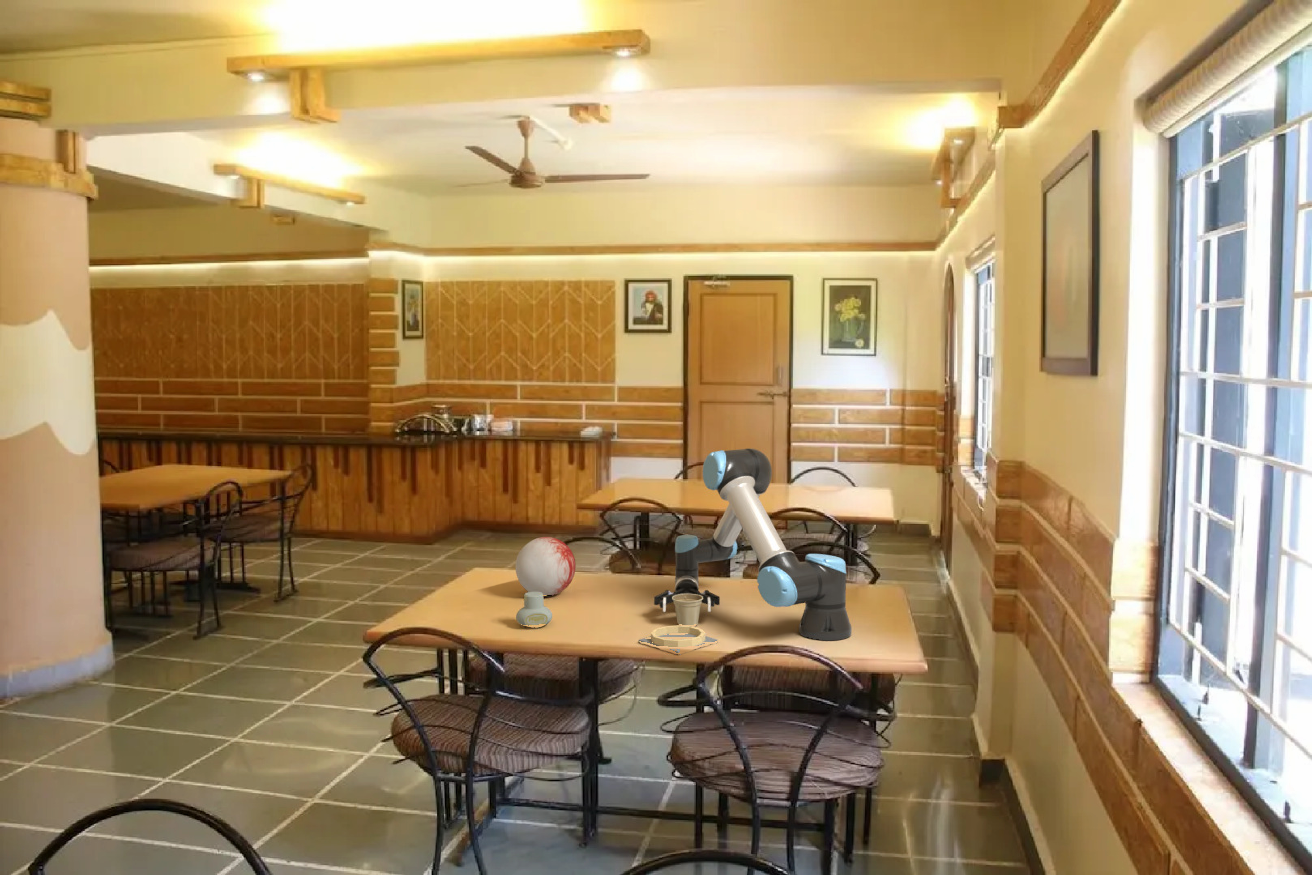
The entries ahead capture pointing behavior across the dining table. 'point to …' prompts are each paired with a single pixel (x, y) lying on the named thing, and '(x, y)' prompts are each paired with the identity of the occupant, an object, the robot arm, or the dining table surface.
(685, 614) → the flower pot
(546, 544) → the decorative orb
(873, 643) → the dining table surface
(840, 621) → the robot arm
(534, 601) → the air freshener
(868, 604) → the dining table surface
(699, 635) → the collar plate
